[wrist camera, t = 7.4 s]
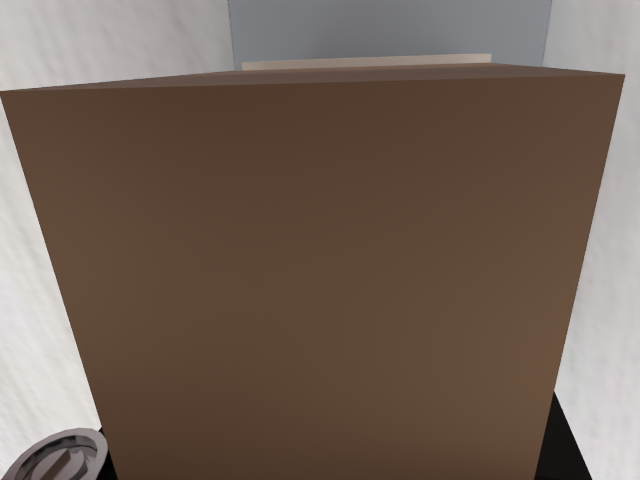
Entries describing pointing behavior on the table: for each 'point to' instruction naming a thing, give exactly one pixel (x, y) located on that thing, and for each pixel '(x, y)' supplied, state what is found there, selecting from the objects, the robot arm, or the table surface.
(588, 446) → the table surface
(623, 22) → the table surface
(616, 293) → the table surface
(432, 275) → the walnut beam
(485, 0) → the slate board
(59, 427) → the table surface
